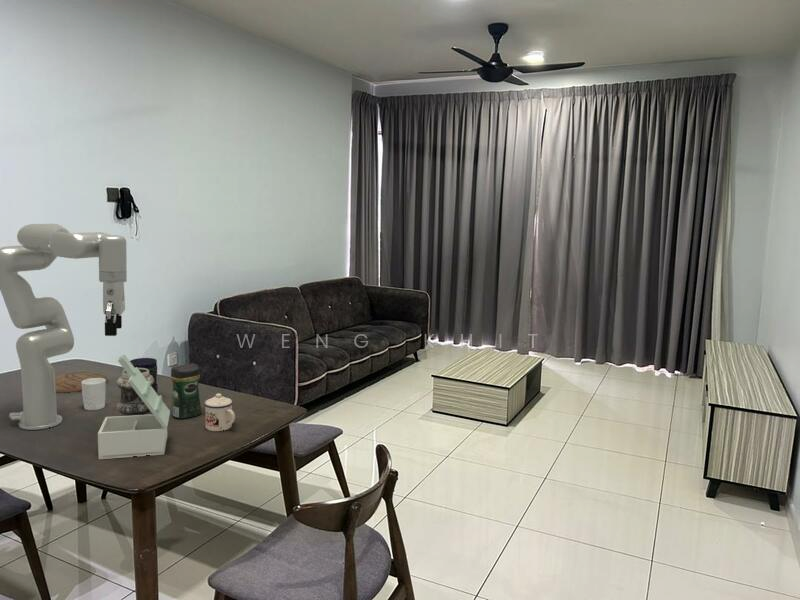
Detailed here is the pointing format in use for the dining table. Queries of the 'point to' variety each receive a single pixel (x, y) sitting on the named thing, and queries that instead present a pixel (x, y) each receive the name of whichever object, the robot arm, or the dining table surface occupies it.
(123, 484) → the dining table surface
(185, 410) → the coffee jar
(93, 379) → the white cup
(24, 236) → the robot arm
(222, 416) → the teacup with lid
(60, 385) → the trivet
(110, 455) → the tub
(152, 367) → the storage jar
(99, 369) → the dining table surface
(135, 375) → the lid
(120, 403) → the apothecary jar
